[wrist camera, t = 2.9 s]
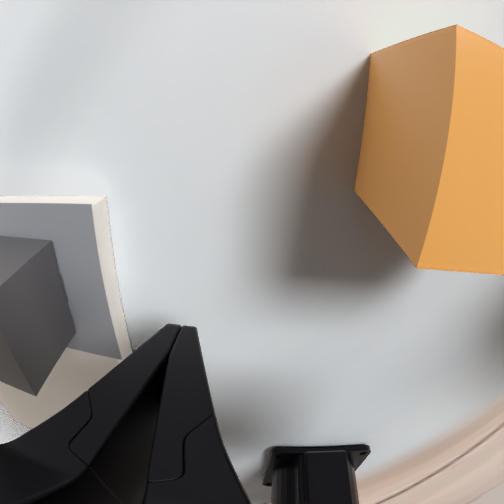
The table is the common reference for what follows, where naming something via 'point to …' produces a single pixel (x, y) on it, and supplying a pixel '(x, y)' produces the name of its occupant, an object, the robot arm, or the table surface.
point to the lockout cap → (437, 149)
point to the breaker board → (71, 297)
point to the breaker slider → (31, 313)
